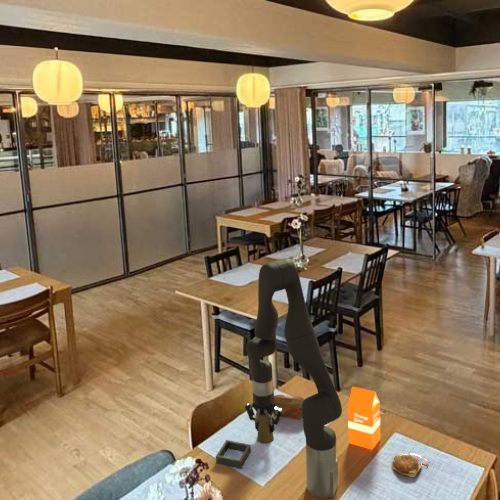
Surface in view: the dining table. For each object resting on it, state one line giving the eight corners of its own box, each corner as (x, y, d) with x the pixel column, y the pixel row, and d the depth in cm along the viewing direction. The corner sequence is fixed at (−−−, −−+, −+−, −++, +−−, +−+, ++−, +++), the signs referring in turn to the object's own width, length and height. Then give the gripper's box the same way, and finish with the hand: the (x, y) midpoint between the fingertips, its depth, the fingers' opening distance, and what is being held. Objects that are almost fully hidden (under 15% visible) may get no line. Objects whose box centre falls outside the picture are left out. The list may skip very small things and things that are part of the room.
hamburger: (423, 489, 170) (424, 473, 168) (382, 471, 179) (382, 456, 177) (440, 464, 180) (441, 449, 178) (400, 448, 189) (401, 433, 187)
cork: (274, 433, 199) (273, 407, 196) (273, 444, 194) (272, 417, 190) (257, 433, 200) (256, 407, 197) (256, 444, 194) (255, 417, 191)
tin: (269, 415, 210) (268, 396, 208) (271, 411, 213) (270, 392, 211) (307, 420, 206) (307, 401, 204) (309, 415, 209) (308, 396, 206)
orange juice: (357, 432, 199) (356, 382, 194) (380, 439, 194) (380, 387, 189) (348, 443, 192) (347, 391, 188) (372, 450, 187) (371, 396, 183)
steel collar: (251, 452, 190) (250, 444, 189) (241, 469, 182) (240, 461, 181) (226, 447, 194) (226, 439, 193) (216, 463, 185) (215, 456, 184)
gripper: (240, 392, 190) (242, 433, 195) (279, 398, 185) (280, 441, 190) (247, 381, 197) (250, 421, 202) (285, 387, 192) (287, 428, 197)
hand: (265, 431), depth 196 cm, fingers open, 4 cm apart
